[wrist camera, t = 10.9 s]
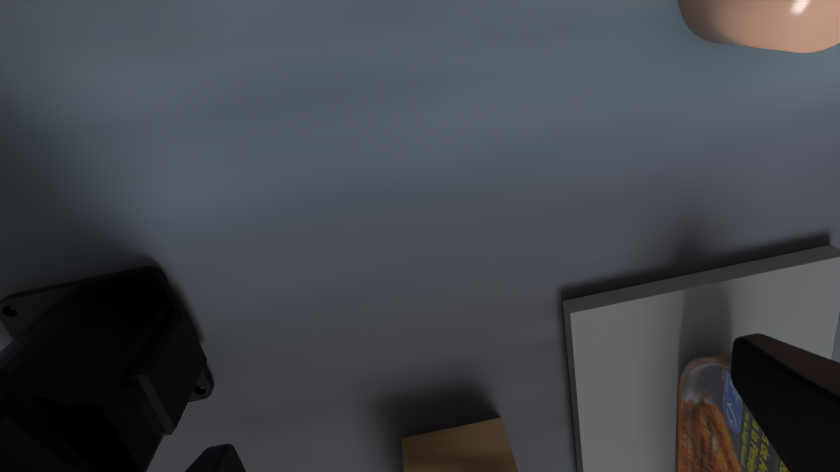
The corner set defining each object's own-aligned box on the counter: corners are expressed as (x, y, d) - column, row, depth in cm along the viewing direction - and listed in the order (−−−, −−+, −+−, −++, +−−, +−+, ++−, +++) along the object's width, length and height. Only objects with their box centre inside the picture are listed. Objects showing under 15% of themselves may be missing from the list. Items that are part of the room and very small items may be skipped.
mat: (586, 568, 31) (592, 585, 30) (562, 301, 23) (570, 313, 22) (784, 527, 31) (797, 543, 30) (830, 244, 23) (849, 254, 22)
